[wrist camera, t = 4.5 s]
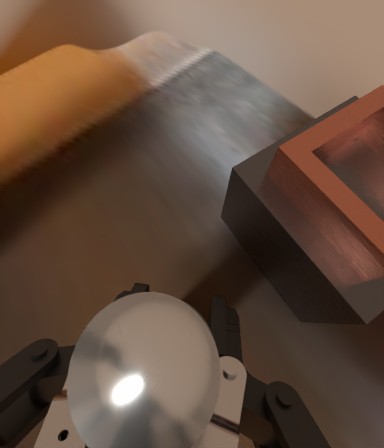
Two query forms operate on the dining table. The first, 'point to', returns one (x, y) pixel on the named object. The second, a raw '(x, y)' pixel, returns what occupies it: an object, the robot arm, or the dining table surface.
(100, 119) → the dining table surface
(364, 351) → the dining table surface
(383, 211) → the block
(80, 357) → the steel tube
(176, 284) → the dining table surface
